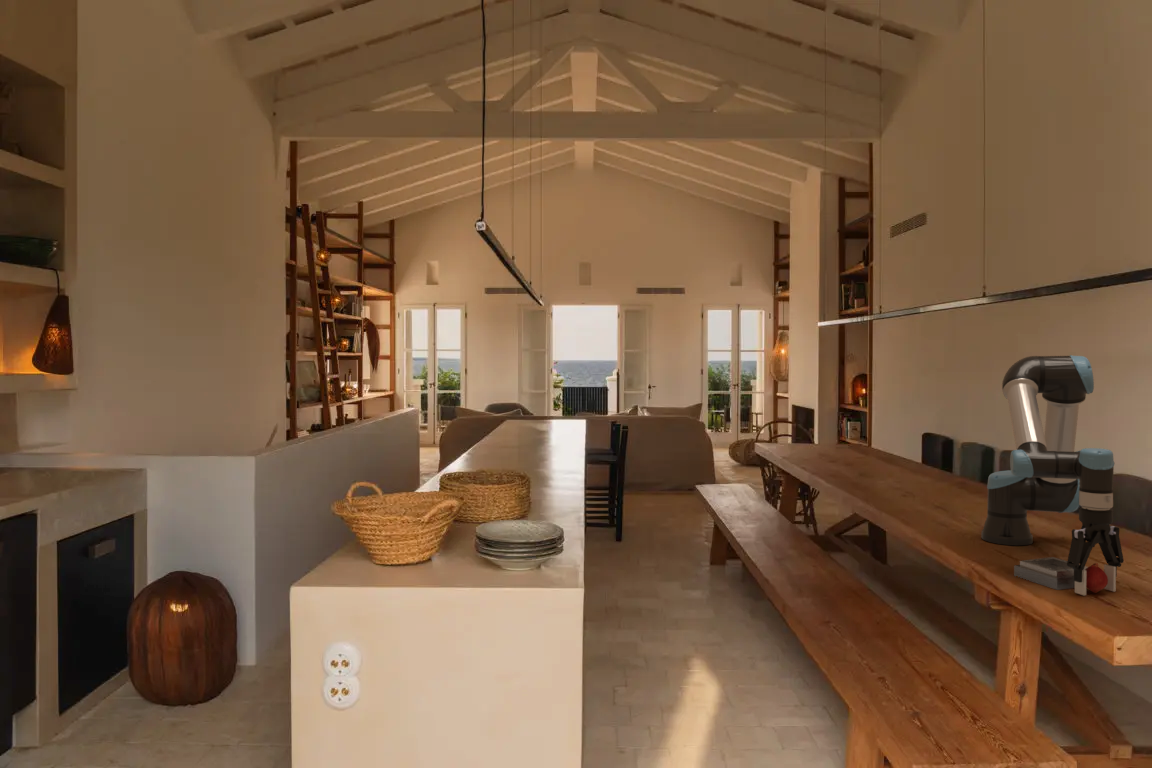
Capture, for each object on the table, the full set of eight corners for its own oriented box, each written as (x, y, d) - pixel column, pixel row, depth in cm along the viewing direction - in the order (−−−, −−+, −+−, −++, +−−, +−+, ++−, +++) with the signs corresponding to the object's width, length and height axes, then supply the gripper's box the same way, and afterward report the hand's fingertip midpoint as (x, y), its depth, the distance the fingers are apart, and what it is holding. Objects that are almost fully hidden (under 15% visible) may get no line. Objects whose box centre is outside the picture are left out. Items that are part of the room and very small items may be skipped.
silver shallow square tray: (1014, 575, 224) (1014, 560, 224) (1052, 571, 228) (1052, 555, 228) (1057, 589, 211) (1057, 573, 211) (1097, 584, 215) (1097, 568, 215)
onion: (1084, 594, 206) (1084, 564, 206) (1078, 588, 212) (1079, 559, 212) (1110, 597, 204) (1110, 566, 204) (1104, 590, 210) (1104, 560, 209)
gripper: (1076, 513, 200) (1075, 600, 201) (1141, 507, 207) (1140, 591, 208) (1050, 508, 207) (1050, 592, 208) (1114, 502, 214) (1113, 583, 215)
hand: (1095, 591), depth 208 cm, fingers open, 9 cm apart
